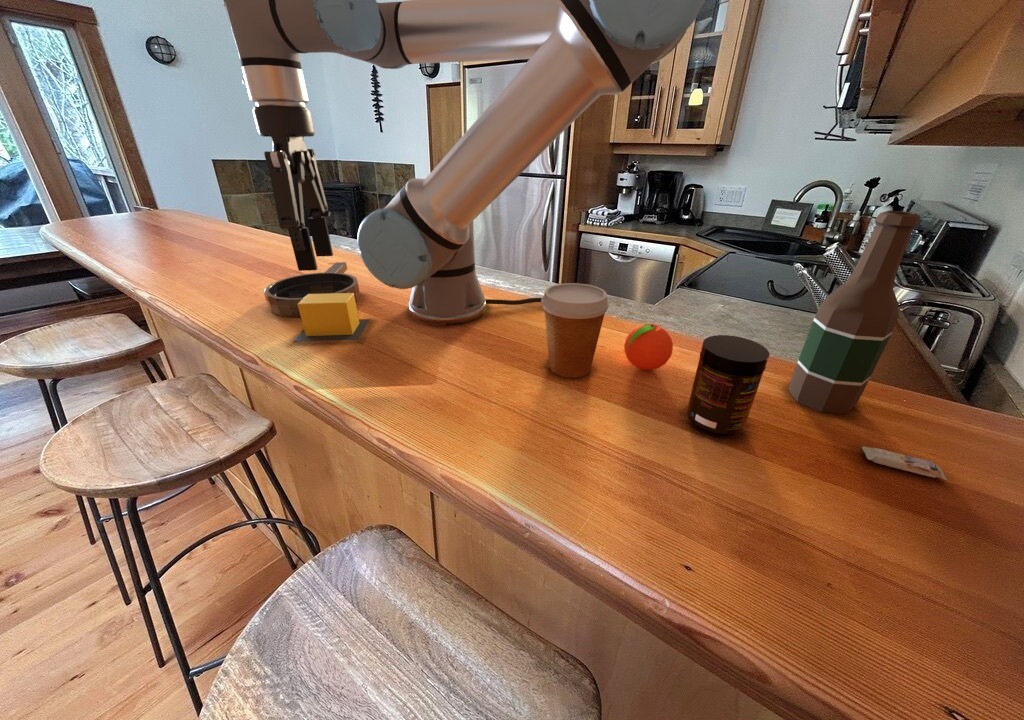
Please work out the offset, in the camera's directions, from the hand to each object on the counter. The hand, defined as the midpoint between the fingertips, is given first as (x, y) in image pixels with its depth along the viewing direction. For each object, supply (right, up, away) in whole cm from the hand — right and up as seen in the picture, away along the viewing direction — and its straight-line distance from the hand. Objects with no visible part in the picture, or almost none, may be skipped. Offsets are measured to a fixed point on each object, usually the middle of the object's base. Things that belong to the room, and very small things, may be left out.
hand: (317, 262), depth 70 cm
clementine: (+53, -18, -7) cm, 57 cm away
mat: (+1, -12, +5) cm, 13 cm away
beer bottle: (+75, -22, -14) cm, 79 cm away
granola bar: (+75, -28, -26) cm, 84 cm away
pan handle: (-9, +4, +29) cm, 30 cm away
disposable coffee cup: (+42, -18, -7) cm, 46 cm away
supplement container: (+58, -25, -19) cm, 66 cm away
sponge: (+1, -11, +4) cm, 12 cm away
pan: (-8, -5, +17) cm, 20 cm away
